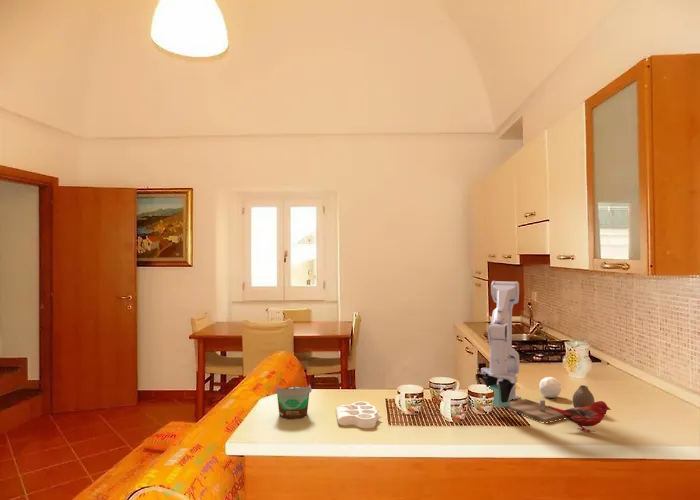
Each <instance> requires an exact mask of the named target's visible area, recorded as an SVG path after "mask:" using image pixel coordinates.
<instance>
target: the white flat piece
mask: <svg viewBox="0 0 700 500" xmlns="http://www.w3.org/2000/svg"><path fill="white" fill-rule="evenodd" d="M379 412H380V410H378V409H377V407H376V406H374V405H371V403H370V402H368V401H355V402H352V404H342V405H339V406H337V407H336V408H335V413H336V419H337V424H338V425H340V426H356V427H358V428H360V429H372V428H374V427H376V423H377V422H378V420H379V419H382V418H383V417H382V416H381V415H380V414H379Z"/></svg>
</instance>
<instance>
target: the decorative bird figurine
mask: <svg viewBox="0 0 700 500" xmlns="http://www.w3.org/2000/svg"><path fill="white" fill-rule="evenodd" d="M547 406H548V407H550V408H552V409H554V410H556V411H558V412H560V413H562V414H563V415H564V416H565V417H566V418H567V419H566V420H569V421H570V422H572V423H574V424H576V425H577V426H578V428H576V430H580V431H582V432H585V433H586V432H587V433H595V432H596V431H594V430H590V429H588V428H589V427H593V426H596V425H598V424H600V423H601V422H602V421H603V420H604V417H605V415H607V411H611V408H610V407H609V406H608V405H607V403H606V402H605V401H603V400H599V401H595V402H594V403H593V404H591V405H590V406H586V407H577V408H574V407H572V408H568V409H561V408H558V407H554V406H550V405H547ZM585 427H587V428H585Z"/></svg>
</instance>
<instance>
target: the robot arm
mask: <svg viewBox="0 0 700 500" xmlns="http://www.w3.org/2000/svg"><path fill="white" fill-rule="evenodd" d="M490 295H491V298H492V300H493V303H496V308H494V309H493V310H492V315H491V320H490V324H488V327H487V338H488V346H489V367H482V368H480V374H481V375H483V376H482V380H483V382H484V384H485V387H486V388H487V387H488V386H490V385H495V384H499V386H500V389H501V400H502V402H503V403H504V402H508V398H509V395H510V401H513V400H518V399H522V398H521V397H522V396H520V395H517V394H516V384H517V383H518V376H516V375H517V374H519V373H520V354H519V352H518V351H517V350H516V349H514V348H513V347H512V344H513V343H512V341H513V340H512V337H513V330H512V329H513V327H512V326H513V308H514V305H516V304H519V300H520V282H518V281H496V280H492V281H491V283H490ZM484 375H485V376H484ZM512 399H513V400H512Z"/></svg>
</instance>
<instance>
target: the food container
mask: <svg viewBox="0 0 700 500" xmlns="http://www.w3.org/2000/svg"><path fill="white" fill-rule="evenodd" d="M274 390H275V391H274V393H275V394H276V395H277V406H278V415H279V417H280V418H281V417H282V419H285V420H300V419H304V418H305V416H306V417H307V416H308V409H309V408H308V407H309V399H310V393H311V392H312V387H311V384H310V383H309V385H308V386H289V387H284V388H283V387H282V388H281V387H278V386H276V388H275V389H274Z"/></svg>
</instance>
